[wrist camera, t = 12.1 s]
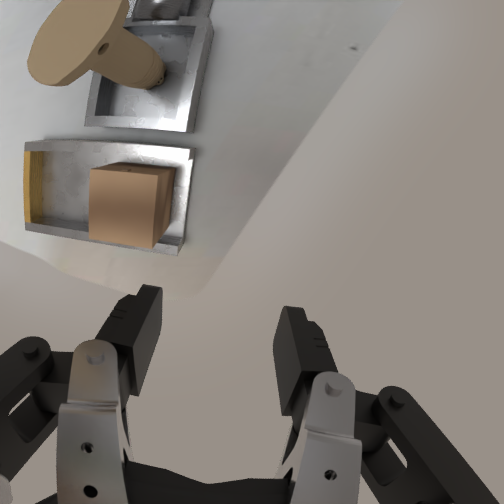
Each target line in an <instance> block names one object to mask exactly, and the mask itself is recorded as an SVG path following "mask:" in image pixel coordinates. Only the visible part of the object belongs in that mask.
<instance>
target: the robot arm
mask: <svg viewBox="0 0 504 504" xmlns="http://www.w3.org/2000/svg"><path fill="white" fill-rule="evenodd" d="M162 296H163V290H162V287H157V286H151V285H146V284H143V285H142V287H141V288H140V290H139V292H138V293H137V295H136V296H135V295H130V294H128V295H127V296H125V297H123V298H122V299H120V300H119V301H118V303H117V304H116V306H115V307H114V310H112V312H111V313H110V316H109V317H108V318H107V320H106V321H105V323H104V325H103V326H102V328H101V329H100V331H99V333H98V334H97V336H96V337H95V339H94V340H88V341H85V342H82V343H81V344H79V345H78V346H77V347H76V349H75V351H74V352H54V351H51V349H50V346H49V344H48V342H47V341H46V340H44V339H43V338H40V337H27V338H23V339H21V340H20V341H18V342H17V343H16V344H14V345H13V346H12V347H10V348H9V349H8V350H7V351H5V352H4V353H3V354H2V355H0V504H10V503H11V502H12V500H13V499H12V495H11V487H10V484H9V482H10V481H11V480H12V479H13V478H14V476H15V475H16V474H17V473H18V472H19V470H20V469H21V468H22V467H23V466H24V464H25V463H26V462H27V461H28V460H29V459H30V457H31V456H32V455H33V454H34V453H35V452H36V450H37V449H38V448H39V447H40V446H41V445H42V443H43V442H44V441H45V440H46V439H47V438H48V436H49V435H50V434H51V433H52V432H53V431H54V430H55V428H56V427H57V426H58V429H57V453H56V471H57V472H56V473H57V493H55V494H53V495H52V496H49V497H47V498H46V499H44V500H42V501H40V502H38V503H35V504H357V501H358V494H359V484H360V473H361V475H362V477H363V478H364V479H365V481H366V483H367V484H368V486H369V488H370V489H371V491H372V492H373V494H374V495H375V497H376V498H377V500H378V502H379V503H380V504H499V502H498V501H497V500H496V499H495V497H494V496H493V495H492V493H491V492H490V491H489V489H488V488H487V487H486V486H485V484H484V483H483V482H482V481H481V479H480V478H479V477H478V476H477V474H476V473H475V472H474V471H473V469H472V468H471V467H470V466H469V464H468V463H467V462H466V461H465V459H464V458H463V457H462V456H461V454H460V453H459V452H458V451H457V450H456V448H455V447H454V446H453V445H452V444H451V442H450V441H449V440H448V439H447V437H446V436H445V435H444V434H443V433H442V432H441V430H440V429H439V428H438V427H437V425H436V424H435V423H434V422H433V421H432V420H431V418H430V417H429V416H428V415H427V414H426V412H425V411H424V410H423V409H422V408H421V406H420V405H418V403H417V402H416V401H415V400H414V398H413V397H412V396H411V395H410V394H409V393H408V392H407V391H406V390H404V389H402V388H399V387H396V386H387V387H385V388H383V389H382V390H381V391H380V392H379V394H378V395H373V394H369V393H364V392H360V391H357V390H355V387H354V385H353V383H352V382H351V380H349V379H348V378H347V377H346V376H344V375H342V374H340V373H338V370H337V367H336V365H335V362H334V359H333V357H332V354H331V352H330V349H329V348H328V343H327V341H326V338H325V336H324V333H323V330H322V329H321V328H320V327H319V326H318V325H317V324H316V323H315V322H313V321H308V320H307V317H306V314H305V311H304V309H303V308H299V307H290V306H284V307H283V309H282V312H281V315H280V319H279V322H278V326H277V329H276V333H275V336H274V341H273V355H274V362H275V370H276V377H277V384H278V391H279V398H280V405H281V413H282V416H292V420H293V423H292V425H291V427H290V429H289V432H288V436H287V440H286V443H285V447H284V450H283V454H282V457H281V460H280V464H279V467H278V470H277V472H276V475H275V477H274V479H253V478H250V479H249V478H248V479H243V480H236V481H229V482H222V483H214V484H205V483H202V482H199V481H196V480H193V479H190V478H187V477H185V476H182V475H179V474H177V473H174V472H172V471H169V470H167V469H163V468H158V467H153V466H148V465H144V464H140V463H136V462H134V458H133V454H132V448H131V440H130V432H129V423H128V414H127V406H126V404H127V401H128V398H129V395H134V396H139V394H140V391H141V388H142V385H143V382H144V379H145V376H146V373H147V370H148V367H149V364H150V361H151V358H152V355H153V352H154V350H155V346H156V344H157V341H158V338H159V335H160V331H161V325H162ZM28 393H30V395H29V396H28V397H27V398H26V399H25V400H24V401H23V402H22V403H21V404H20V405H19V406H18V407H17V408H16V409H15V410H14V411H13V412H12V413H11V414H10V415H9V412H10V411H11V409H12V408H13V407H14V406H15V405H16V404H17V403H18V402H19V401H20V400H21V399H22V398H23V397H24V396H26V394H28ZM8 415H9V416H8ZM390 438H391V439H392V441H393V442H394V443H395V445H396V446H397V448H398V449H399V450H400V452H401V453H402V454H403V455H404V457H405V459H406V461H407V468H406V467H405V466H404V465H403V463H402V462H401V461H400V459H399V458H398V457H397V455H396V454H395V452H394V451H393V449H392V448H391V447H390V445H389V444H388V441H389V440H390Z"/></svg>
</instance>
